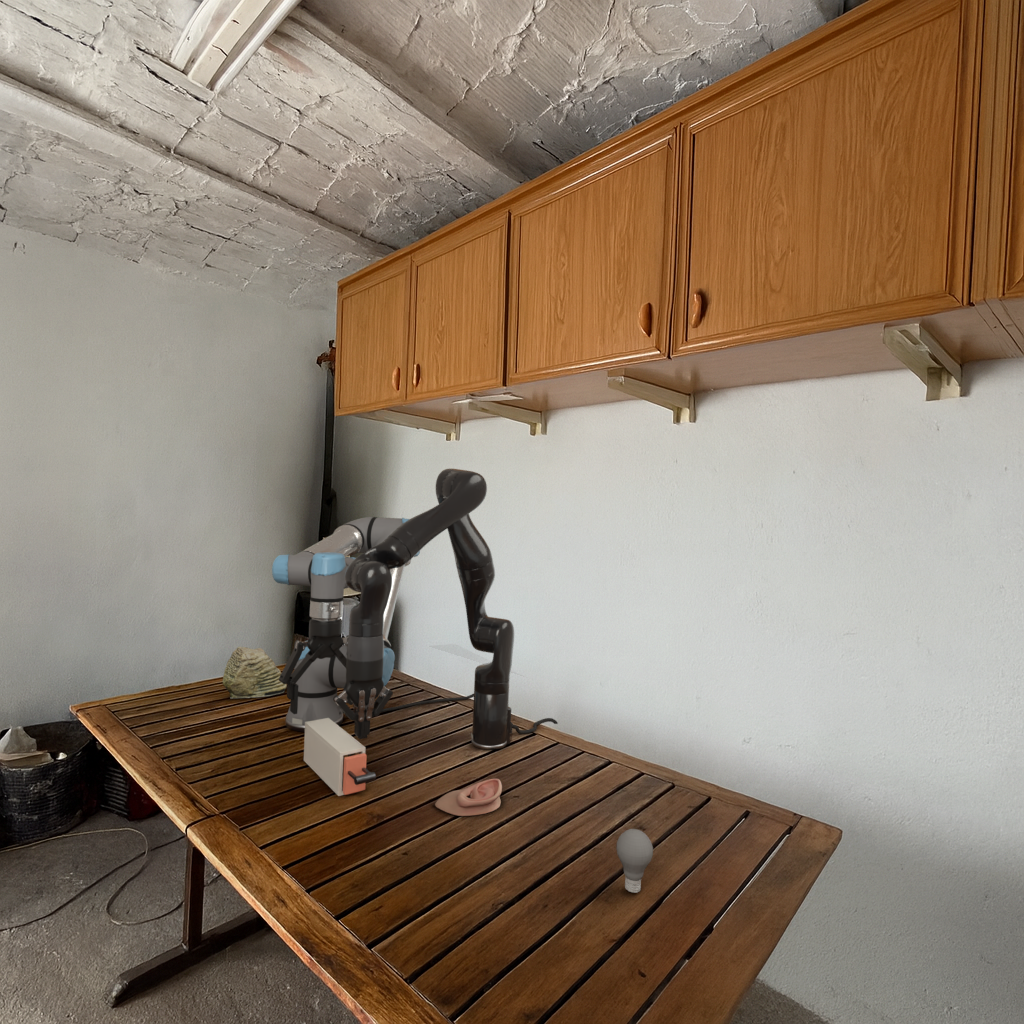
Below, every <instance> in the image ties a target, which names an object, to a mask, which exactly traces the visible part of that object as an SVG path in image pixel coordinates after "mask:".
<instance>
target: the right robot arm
mask: <svg viewBox="0 0 1024 1024" xmlns="http://www.w3.org/2000/svg"><path fill="white" fill-rule="evenodd" d="M487 492H488V485H487V481H486V479H485V477H484V476H483V475H481V474H480V473H479V472H476V471H472V470H466V469H460V468H459V469H458V468H445V469H443V470H442V471H440V472H439V474H438V475H437V477H436V480H435V495H436V499H437V500H436V501H437V503H438V504H436V506H434V507H432V508H430V509H428V510H426V511H423V512H422V513H420V514H417V515H415V516H413V517H411V518H408V519H409V520H408V521H406V522H404V523H403V524H402V525H400V526H399V527H398V528H397V529H396V530H395V531H394V532H392V533H391V534H390V535H389V536H388V537H387V538H386V539H385V540H384V541H383V542H381V543H380V544H378V545H376V546H374V547H372V548H371V549H369V550H368V551H366V552H364V553H360V555H358V556H356V557H354V558H355V559H354V560H353V561H352V562H351V563H350V565H349V566H348V568H347V570H346V573H345V582H346V584H347V586H348V587H349V588H348V589H350V590H352V591H353V592H357V593H361V595H360V600H359V604H356V605H354V606H353V607H352V608H351V609H350V612H349V624H348V635H349V637H348V643H347V652H346V655H347V662H346V684H345V686H344V689H343V691H342V692H341V693H339V694H338V696H334V697H333V701H334V702H335V703H336V704H337V705H338V707H339V708H340V709H341V710H342V712H343V715H345V717H346V718H348V719H349V720H350V721H353V722H354V731H353V733H354V736H356V738H358V739H359V740H365V739H368V736H369V735H370V733H371V720H372V719H373V718H374V717H379V716H380V714H381V713H382V712H381V711H382V710H383V709H385V707H386V705H387V704H388V702H389V701H390V699H391V698H392V696H393V694H394V692H393V690H392V689H390V688H388V687H386V686H385V687H384V682H383V680H382V676H383V657H384V640H383V626H384V612H385V609H386V606H387V603H388V599H389V596H390V592H391V588H392V575H391V571H390V569H393V568H399V567H402V566H404V565H405V564H406V563H408V562H409V561H410V560H411V561H412V559H413V558H415V557H414V556H415V555H416V554H417V553H418V552H419V551H420V552H421V551H422V549H423V548H425V547H426V546H427V545H428V544H429V543H430V542H431V541H433V540H434V539H435V538H436V537H437V536H439V535H441V533H443V532H444V531H446V530H447V532H448V536H449V541H450V544H451V548H452V552H453V555H454V562H455V566H456V570H457V575H458V579H459V583H460V587H461V590H462V595H463V601H464V606H465V614H466V621H467V629H468V635H469V636H468V637H469V640H470V643H471V646H472V647H473V649H475V650H476V651H478V652H482V653H489V654H493V655H492V660H491V661H490V662H486V663H481V664H479V665H477V666H476V667H475V669H474V683H473V694H474V697H473V704H472V705H473V706H472V707H473V708H472V731H471V732H470V737H471V745H472V746H473V747H476V748H478V749H481V750H489V751H491V750H493V751H494V750H500V749H503V748H505V747H507V746H508V745H510V744H511V734H513V729H514V730H515V732H516V733H517V734H519V735H528V734H531V733H534V732H536V731H537V730H538V726H539V725H542V724H544V723H549V722H550V723H553V724H554V725H558V724H559V722H558V721H557V720H556V719H554V718H553V717H545V718H542V719H539V720H537V721H535V722H534V723H533V725H532V727H531V728H529V729H520V728H519V726H518V725H516V724H513V722H512V707H510V706H509V704H510V703H509V700H510V679H511V671H512V665H513V656H514V655H513V654H514V645H515V627H514V624H513V622H512V621H511V620H509V619H506V618H500V617H493V616H489V615H488V614H487V611H486V605H485V604H486V603H485V602H486V598H487V596H488V594H489V592H490V591H491V588H492V586H493V584H494V581H495V578H496V571H495V570H496V569H495V564H494V560H493V559H494V558H493V554H492V551H491V547H490V546H489V545H488V543H487V541H486V540H485V538H484V537H483V536H482V534H481V533H480V531H479V529H478V528H477V527H476V525H475V523H474V522H473V521H472V518H471V516H470V513H473V511H475V510H476V509H478V508H479V507H480V506H481V505H482V503H483V502H484V500H485V498H486V496H487ZM347 696H348V698H349V699H350V700H351V702H352V703H353V705H352V708H353V710H354V713H353V712H352V708H350V706H348V705H349V704H348V703H347V701H348V700H347Z"/></svg>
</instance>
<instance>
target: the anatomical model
mask: <svg viewBox="0 0 1024 1024" xmlns="http://www.w3.org/2000/svg"><path fill="white" fill-rule="evenodd" d="M502 791H503V784H502V780H500V779H499V778H491V779H490V778H489V779H485V780H483V781H480V782H477V783H474V784H471V785H470V786H467V787H465V788H463V789H457V790H452V791H449V792H447V793H446V794H443V795H442V796H441V797H440V798H438V799H436V801H435V802H434V807H436V808H437V809H439V810H441V811H443V812H445V813H447V814H451V815H453V816H458V817H469V816H479V815H484V814H487V813H491V812H494V811H496V810H497V809H499V808H500V807H501V803H502V801H501V800H502V799H501V797H500V796H501V794H502Z"/></svg>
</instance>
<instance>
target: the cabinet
mask: <svg viewBox="0 0 1024 1024" xmlns="http://www.w3.org/2000/svg"><path fill="white" fill-rule="evenodd" d="M303 739H304V742H303V762H305V763H306V764H307V766H308V767H309V768H310V769H311V770H312V771H313V772H314V773H315V774H316V775H317V776H318V777H319V778H320V779H321V780H322V781H323V782H324V783H325V784H326V785H327V787H329V788H330V789H331V790H332V791H333V792H334V793H335V795H336V796H338V797H341V796H345V795H344V794H343V787H342V777H343V756H344V755H348V754H353V753H357V752H359V754H363V753H365V754H366V752H367V751H366V750H367V749H366V748H367V747H366V746H364V744H362V743H360V741H359V740H357V739H356V738H354V737H353V736H352V735H351V734H350V733H348V731H346V730H345V729H343V728H342V727H341V726H340V725H339V726H338V725H337V724H336V723H334V722H333V721H332V720H331V719H329V718H324V719H319V720H313V721H308V722H305V732H304V738H303Z"/></svg>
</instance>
